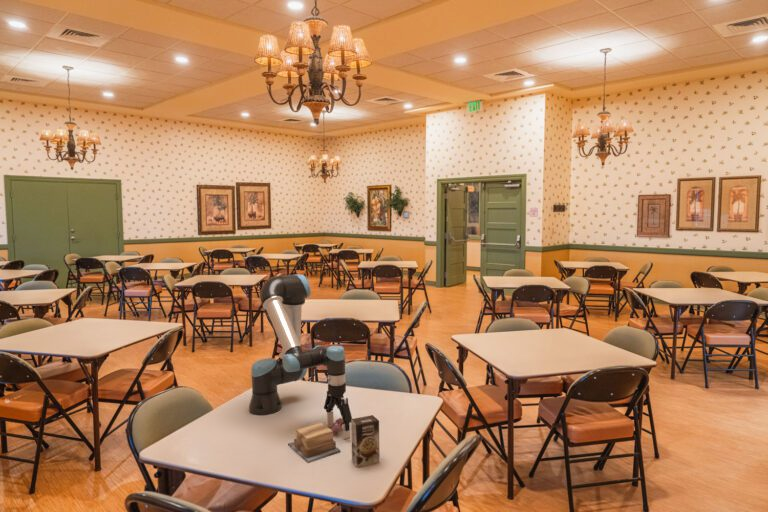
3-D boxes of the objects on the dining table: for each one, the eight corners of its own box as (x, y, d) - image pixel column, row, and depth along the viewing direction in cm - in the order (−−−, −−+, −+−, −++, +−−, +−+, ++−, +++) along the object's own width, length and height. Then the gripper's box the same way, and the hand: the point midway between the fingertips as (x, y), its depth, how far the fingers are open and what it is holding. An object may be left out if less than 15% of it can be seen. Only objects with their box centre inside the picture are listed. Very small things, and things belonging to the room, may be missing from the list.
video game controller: (334, 441, 204) (341, 427, 203) (325, 435, 205) (332, 421, 204) (341, 431, 214) (348, 417, 213) (332, 425, 214) (338, 412, 213)
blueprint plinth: (288, 445, 198) (287, 426, 197) (319, 435, 206) (318, 417, 205) (307, 463, 183) (307, 442, 183) (340, 452, 191) (339, 432, 191)
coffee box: (357, 467, 179) (356, 425, 178) (351, 460, 185) (350, 418, 184) (380, 462, 183) (379, 420, 181) (373, 454, 189) (372, 414, 187)
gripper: (315, 377, 215) (316, 424, 217) (344, 393, 195) (345, 445, 196) (330, 374, 220) (331, 420, 221) (360, 389, 199) (361, 439, 201)
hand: (338, 432), depth 209 cm, fingers open, 13 cm apart
